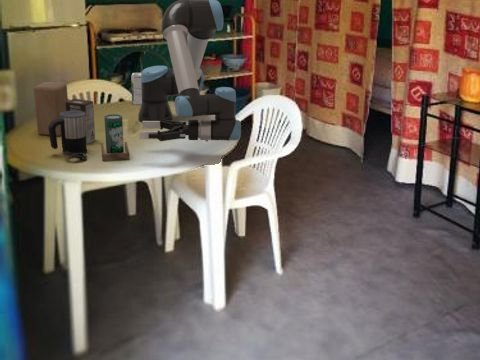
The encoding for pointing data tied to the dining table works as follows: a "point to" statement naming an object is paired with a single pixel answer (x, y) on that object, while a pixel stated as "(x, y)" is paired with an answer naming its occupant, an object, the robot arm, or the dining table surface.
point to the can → (114, 133)
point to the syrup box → (136, 89)
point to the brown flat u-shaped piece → (115, 154)
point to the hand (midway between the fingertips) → (140, 129)
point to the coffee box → (89, 115)
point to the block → (49, 105)
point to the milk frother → (70, 133)
